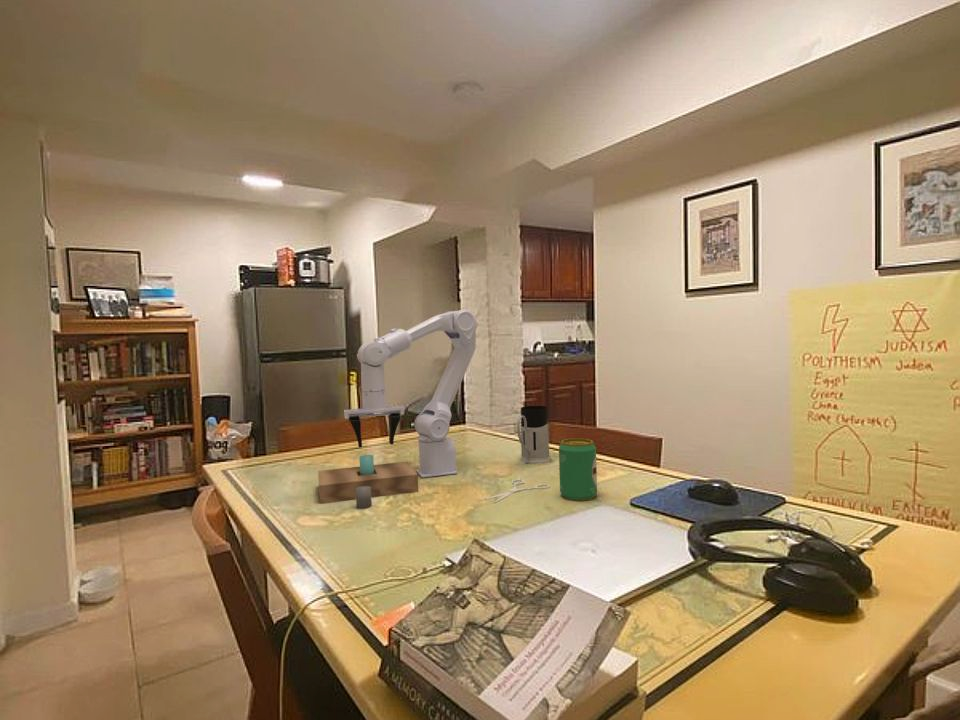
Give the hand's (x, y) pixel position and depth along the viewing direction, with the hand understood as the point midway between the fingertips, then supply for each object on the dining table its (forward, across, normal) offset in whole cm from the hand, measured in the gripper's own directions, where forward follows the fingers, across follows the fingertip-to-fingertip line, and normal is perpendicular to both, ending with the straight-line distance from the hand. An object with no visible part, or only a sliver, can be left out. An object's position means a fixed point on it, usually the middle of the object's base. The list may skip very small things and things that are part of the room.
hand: (375, 445), depth 132 cm
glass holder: (+10, -43, -3) cm, 44 cm away
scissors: (+10, -28, +21) cm, 36 cm away
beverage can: (+10, -40, +30) cm, 51 cm away
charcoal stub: (+10, +5, +18) cm, 21 cm away
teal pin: (+9, +3, +5) cm, 11 cm away
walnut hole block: (+9, +3, +5) cm, 11 cm away
